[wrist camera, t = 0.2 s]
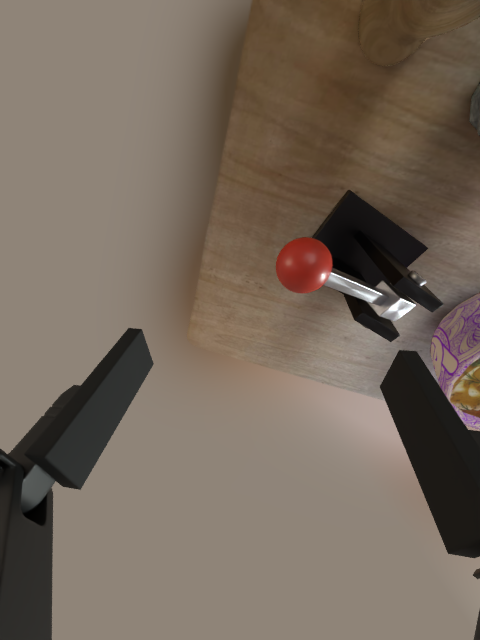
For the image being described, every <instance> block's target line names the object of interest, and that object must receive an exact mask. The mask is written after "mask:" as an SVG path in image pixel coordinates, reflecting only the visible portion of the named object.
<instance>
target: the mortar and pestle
mask: <svg viewBox="0 0 480 640" xmlns="http://www.w3.org/2000/svg"><path fill="white" fill-rule="evenodd" d="M469 122H470V123H471V124H472V125H473V126H474V127H475V128H476V129H477V132H478V135H479V136H480V83H479V85H478V87H477V88H476V90H475V92H474V93H473V95H472V97H471V109H470V121H469Z"/></svg>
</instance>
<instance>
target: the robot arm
mask: <svg viewBox="0 0 480 640" xmlns="http://www.w3.org/2000/svg"><path fill="white" fill-rule="evenodd" d="M152 366H153V361H152V358H151V356H150V352H149V349H148V346H147V343H146V341H145V337H144V334H143V331H142V329H133V328H128V330H127V331H126V332H125V333H124V334H123V336H122V337H121V338H120V339H119V340H118V342H117V343H116V344H115V345H114V346H113V348H112V349H111V350H110V351H109V352H108V354H107V355H106V356H105V357H104V358H103V360H102V361H101V362H100V363H99V364H98V366H97V367H96V368H95V369H94V371H93V372H92V373H91V374H90V375H89V376H88V378H87V379H86V380H85V381H84V383H83V384H82V385H81V386H78V385H74V386H72V387H71V388H69V389H68V390H67V391H65V392H64V393H63V394H61V396H60V397H59V398H58V399H57V400H56V401H55V402H54V404H53V405H52V407H50V408H49V409H48V410H47V411H46V413H45V415H44V416H42V417H41V418H40V419H39V420H38V422H37V423H36V424H35V425H34V426H33V427H32V428H31V430H30V431H29V432H28V433H27V434H26V435H25V436H24V438H23V439H22V440H21V441H20V442H19V443H18V444H17V445H16V447H15V448H14V449H13V450H12V451H11V452H10V453H9V454H6V453H5V452H4V451H3V450H1V449H0V640H52V638H51V637H52V543H53V542H52V541H53V535H52V534H53V492H52V488H51V487H52V485H53V484H54V482H55V481H57V482H58V483H59V484H60V485H62V486H63V487H69V488H74V489H81V488H82V486H83V484H84V483H85V481H86V479H87V478H88V476H89V474H90V472H91V471H92V469H93V467H94V465H95V464H96V462H97V460H98V459H99V457H100V455H101V453H102V452H103V450H104V448H105V447H106V445H107V443H108V441H109V440H110V438H111V436H112V435H113V433H114V431H115V429H116V428H117V426H118V424H119V423H120V421H121V419H122V417H123V416H124V414H125V412H126V411H127V409H128V407H129V405H130V404H131V402H132V400H133V399H134V397H135V395H136V393H137V392H138V390H139V388H140V387H141V385H142V383H143V381H144V380H145V378H146V376H147V375H148V372H149V371H150V369H151V368H152ZM380 388H381V391H382V393H383V396H384V398H385V401H386V403H387V405H388V408H389V410H390V413H391V415H392V418H393V420H394V423H395V425H396V427H397V430H398V432H399V435H400V437H401V439H402V442H403V445H404V447H405V449H406V452H407V454H408V457H409V459H410V461H411V464H412V467H413V469H414V471H415V474H416V476H417V479H418V481H419V484H420V486H421V489H422V491H423V493H424V496H425V498H426V501H427V503H428V505H429V508H430V511H431V513H432V515H433V518H434V520H435V523H436V525H437V528H438V530H439V533H440V535H441V537H442V540H443V542H444V545H445V547H446V550H447V552H448V554H453V555H459V556H465V557H470V558H476V557H479V556H480V431H473V430H468V429H467V427H466V426H465V424H464V423H463V421H462V420H461V418H460V417H459V415H458V414H457V412H456V411H455V409H454V408H453V406H452V405H451V403H450V401H449V400H448V398H447V397H446V395H445V394H444V392H443V391H442V389H441V388H440V386H439V385H438V383H437V382H436V380H435V379H434V377H433V376H432V374H431V373H430V371H429V370H428V368H427V367H426V365H425V363H424V362H423V360H422V359H421V357H420V356H419V354H418V353H417V352H416V351H404V350H399V352H398V354H397V355H396V357H395V359H394V361H393V363H392V365H391V367H390V369H389V370H388V372H387V374H386V376H385V378H384V380H383V382H382V383H381V385H380ZM473 576H474V577H476V578H477V579H479V578H480V569H477V570H476V571H475V572H474V574H473ZM474 640H480V611H479V616H478V621H477V626H476V631H475V637H474Z"/></svg>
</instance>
